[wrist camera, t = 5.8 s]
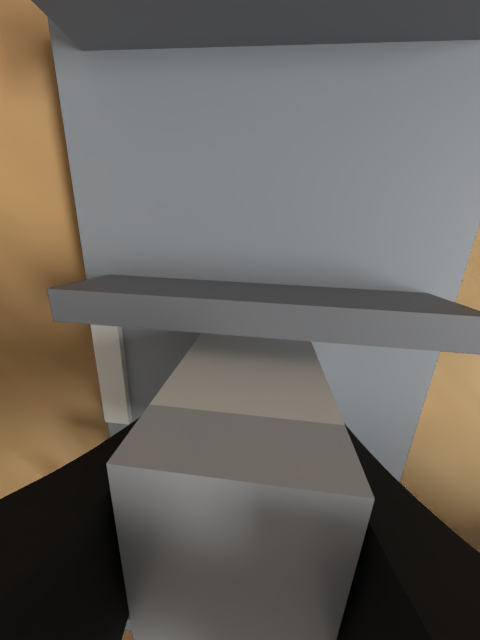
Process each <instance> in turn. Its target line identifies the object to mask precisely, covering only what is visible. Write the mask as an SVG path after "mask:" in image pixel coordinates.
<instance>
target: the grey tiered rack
mask: <svg viewBox="0 0 480 640" xmlns="http://www.w3.org/2000/svg"><path fill="white" fill-rule="evenodd" d="M32 1H33V2H34V3H35V4H36V5H37V6H38V7H39V8H40V9H41V10H42V11H43V12H44V13H45V14H46V15H47V16H48V23H49V30H50V36H51V43H52V50H53V57H54V64H55V70H56V77H57V84H58V91H59V97H60V104H61V111H62V118H63V124H64V131H65V138H66V145H67V151H68V158H69V165H70V172H71V179H72V185H73V192H74V199H75V206H76V212H77V219H78V226H79V233H80V239H81V246H82V253H83V260H84V266H85V273H86V280H83V281H79V282H74V283H70V284H65V285H61V286H57V287H52V288H48V289H47V291H48V296H49V302H50V307H51V312H52V317H53V322H65V323H78V324H90V326H91V333H92V339H93V346H94V353H95V359H96V366H97V372H98V379H99V386H100V392H101V399H102V405H103V412H104V419H105V422H108V429H109V436H110V437H112V436H113V435H115V434H116V433H118V432H119V431H121V430H122V429H123V428H125V427H126V426H128V425H129V424H131V423H132V422H134V421H135V420H136V419H138V418H139V417H140V416H141V415H142V414H143V413H144V411H145V410H146V408H147V407H148V406H149V404H150V403H151V402H152V400H153V399H154V397H155V396H156V395H157V393H158V392H159V391H160V389H161V388H162V386H163V385H164V384H165V382H166V381H167V380H168V378H169V377H170V375H171V374H172V373H173V371H174V370H175V369H176V367H177V366H178V364H179V363H180V362H181V360H182V359H183V358H184V356H185V355H186V354H187V352H188V351H189V349H190V348H191V347H192V345H193V344H194V343H195V341H196V340H197V338H198V337H199V336H200V334H201V333H208V334H221V335H234V336H247V337H260V338H273V339H286V340H299V341H311V343H312V345H313V348H314V350H315V353H316V355H317V357H318V360H319V362H320V365H321V367H322V370H323V372H324V375H325V377H326V380H327V382H328V385H329V387H330V390H331V392H332V394H333V397H334V399H335V402H336V404H337V407H338V409H339V412H340V414H341V417H342V419H343V422H344V423H345V424H346V426H347V427H348V428H349V429H350V430H351V431H352V433H353V434H354V435H355V436H356V437H357V438H358V440H359V441H360V442H361V443H362V444H363V445H364V446H365V447H366V448H367V449H368V451H369V452H370V453H371V454H372V455H373V456H374V457H375V458H376V459H377V460H378V461H379V462H380V463H381V464H382V465H383V467H384V468H385V469H386V470H387V471H388V472H389V473H390V474H391V475H392V476H393V477H394V478H395V479H396V480H397V481H399V482H400V479H401V476H402V473H403V469H404V466H405V463H406V460H407V456H408V453H409V450H410V447H411V444H412V440H413V437H414V434H415V431H416V427H417V424H418V421H419V418H420V414H421V411H422V408H423V405H424V402H425V398H426V395H427V392H428V389H429V385H430V382H431V379H432V376H433V372H434V369H435V366H436V363H437V359H438V356H439V353H440V351H441V352H454V353H467V354H480V311H478V310H475V309H472V308H469V307H467V306H464V305H461V304H458V303H455V301H456V298H457V295H458V292H459V288H460V285H461V282H462V279H463V275H464V272H465V269H466V266H467V263H468V259H469V256H470V253H471V250H472V246H473V243H474V240H475V237H476V233H477V230H478V227H479V224H480V0H32ZM125 630H127V631H132V627H131V621H130V614H129V617H128V620H127V623H126V627H125Z"/></svg>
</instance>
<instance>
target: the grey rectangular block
mask: <svg viewBox="0 0 480 640" xmlns="http://www.w3.org/2000/svg"><path fill="white" fill-rule="evenodd" d="M106 466H107V472H108V479H109V485H110V491H111V498H112V504H113V511H114V517H115V524H116V530H117V537H118V543H119V550H120V556H121V563H122V569H123V576H124V582H125V589H126V595H127V602H128V608H129V614H130V621H131V627H132V634H133V640H336V639H337V635H338V632H339V628H340V624H341V621H342V617H343V614H344V610H345V606H346V603H347V599H348V595H349V592H350V588H351V584H352V581H353V577H354V573H355V570H356V566H357V562H358V559H359V555H360V551H361V548H362V544H363V540H364V537H365V533H366V529H367V526H368V522H369V518H370V515H371V511H372V507H373V504H374V500H375V498H374V496H373V493H372V491H371V488H370V486H369V483H368V481H367V478H366V476H365V473H364V471H363V469H362V466H361V464H360V461H359V459H358V456H357V454H356V451H355V449H354V446H353V444H352V441H351V439H350V436H349V434H348V432H347V429H346V427H345V424H344V422H343V419H342V417H341V414H340V412H339V409H338V407H337V404H336V402H335V399H334V397H333V394H332V392H331V390H330V387H329V385H328V382H327V380H326V377H325V375H324V372H323V370H322V367H321V365H320V362H319V360H318V357H317V355H316V353H315V350H314V348H313V345H312V343H311V341H299V340H286V339H273V338H260V337H247V336H234V335H221V334H208V333H201V334H200V336H199V337H198V338H197V340H196V341H195V343H194V344H193V345H192V347H191V348H190V349H189V351H188V352H187V354H186V355H185V356H184V358H183V359H182V360H181V362H180V363H179V364H178V366H177V367H176V369H175V370H174V371H173V373H172V374H171V375H170V377H169V378H168V380H167V381H166V382H165V384H164V385H163V386H162V388H161V389H160V391H159V392H158V393H157V395H156V396H155V397H154V399H153V400H152V402H151V403H150V404H149V406H148V407H147V408H146V410H145V411H144V413H143V414H142V415H141V417H140V418H139V419H138V421H137V422H136V424H135V425H134V426H133V428H132V429H131V430H130V432H129V433H128V435H127V436H126V437H125V439H124V440H123V441H122V443H121V444H120V445H119V447H118V448H117V450H116V451H115V452H114V454H113V455H112V456H111V458H110V459H109V461H108V462H107V463H106Z"/></svg>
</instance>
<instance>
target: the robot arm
mask: <svg viewBox="0 0 480 640" xmlns="http://www.w3.org/2000/svg"><path fill="white" fill-rule="evenodd" d="M140 417H141V416H140ZM140 417H139V418H140ZM139 418H138V419H139ZM138 419H136V420H135V421H134V422H132V423H131V424H129V425H128V426H126V427H125V428H123V429H122V430H121V431H119V432H118V433H116V434H115V435H113V436H112V437H110V438H109V439H107V440H106V441H104V442H103V443H101V444H100V445H98V446H97V447H95V448H94V449H92V450H90V451H89V452H87V453H85V454H84V455H82V456H80V457H79V458H77V459H75V460H74V461H72V462H70V463H68V464H67V465H65V466H63V467H61V468H60V469H58V470H56V471H54V472H52V473H51V474H49V475H47V476H45V477H43V478H41V479H39V480H37V481H35V482H33V483H31V484H29V485H27V486H25V487H23V488H21V489H19V490H17V491H15V492H13V493H11V494H9V495H8V496H6V497H4V498H2V499H0V640H121V639H122V636H123V633H124V630H125V627H126V623H127V620H128V617H129V608H128V602H127V595H126V589H125V582H124V576H123V569H122V563H121V556H120V550H119V543H118V537H117V530H116V524H115V517H114V511H113V504H112V498H111V491H110V485H109V479H108V472H107V466H106V463H107V462H108V461H109V459H110V458H111V456H112V455H113V454H114V452H115V451H116V450H117V448H118V447H119V445H120V444H121V443H122V441H123V440H124V439H125V437H126V436H127V435H128V433H129V432H130V430H131V429H132V428H133V426H134V425H135V424H136V422H137V421H138ZM344 424H345V423H344ZM345 427H346V429H347V432H348V434H349V436H350V439H351V441H352V444H353V446H354V449H355V451H356V454H357V456H358V459H359V461H360V464H361V466H362V469H363V471H364V473H365V476H366V478H367V481H368V483H369V486H370V488H371V491H372V493H373V496H374V498H375V500H374V504H373V507H372V511H371V515H370V518H369V522H368V526H367V529H366V533H365V537H364V540H363V544H362V548H361V551H360V555H359V559H358V562H357V566H356V570H355V573H354V577H353V581H352V584H351V588H350V592H349V595H348V599H347V603H346V606H345V610H344V614H343V617H342V621H341V624H340V628H339V632H338V635H337V639H336V640H480V553H479V552H478V551H476V550H475V549H474V548H473V547H471V546H470V545H469V544H468V543H466V542H465V541H464V540H463V539H462V538H461V537H459V536H458V535H457V534H456V533H455V532H453V531H452V530H451V529H450V528H449V527H448V526H446V525H445V524H444V523H443V522H442V521H441V520H440V519H439V518H437V517H436V516H435V515H434V514H433V513H432V512H431V511H430V510H428V509H427V508H426V507H425V506H424V505H423V504H422V503H421V502H419V501H418V500H417V499H416V498H415V497H414V496H413V495H412V494H411V493H410V492H409V491H408V490H407V489H406V488H405V487H404V486H403V485H402V484H401V483H400V482H399V481H397V480H396V479H395V478H394V477H393V476H392V475H391V474H390V473H389V472H388V471H387V470H386V469H385V468H384V467H383V465H382V464H381V463H380V462H379V461H378V460H377V459H376V458H375V457H374V456H373V455H372V454H371V453H370V452H369V451H368V449H367V448H366V447H365V446H364V445H363V444H362V443H361V442H360V441H359V440H358V438H357V437H356V436H355V435H354V434H353V433H352V431H351V430H350V429H349V428H348V427H347V426H346V424H345Z"/></svg>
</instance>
